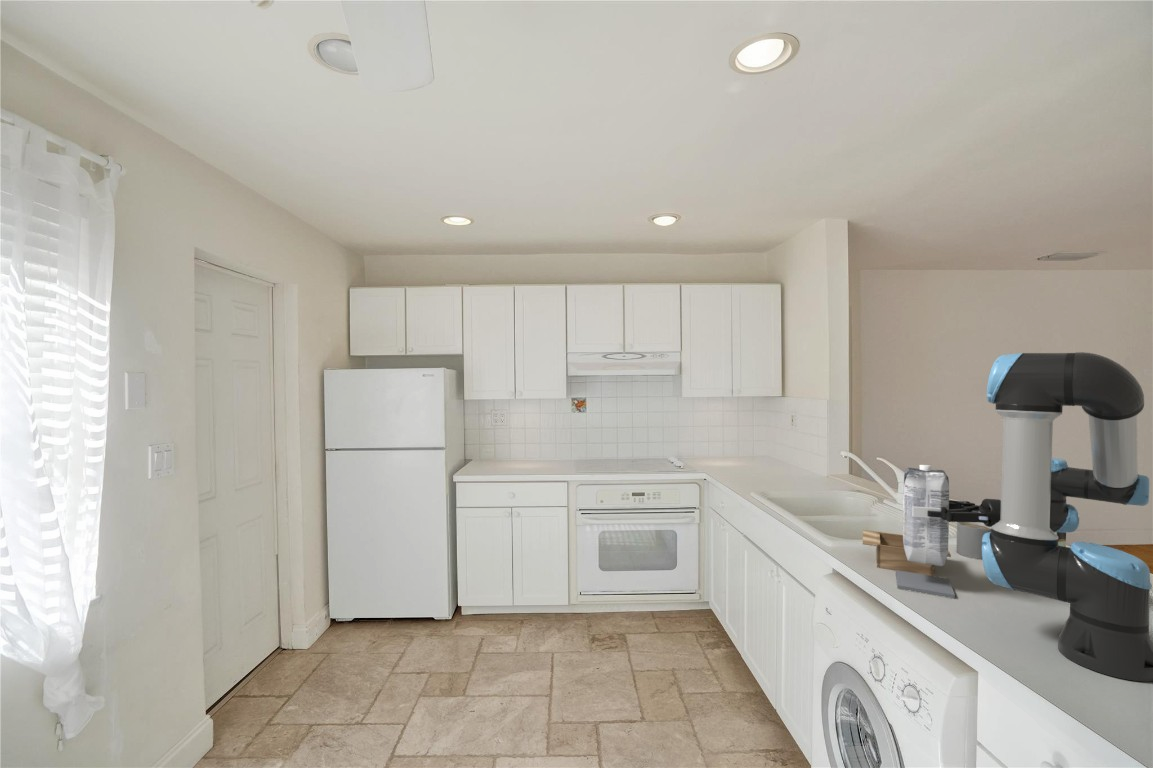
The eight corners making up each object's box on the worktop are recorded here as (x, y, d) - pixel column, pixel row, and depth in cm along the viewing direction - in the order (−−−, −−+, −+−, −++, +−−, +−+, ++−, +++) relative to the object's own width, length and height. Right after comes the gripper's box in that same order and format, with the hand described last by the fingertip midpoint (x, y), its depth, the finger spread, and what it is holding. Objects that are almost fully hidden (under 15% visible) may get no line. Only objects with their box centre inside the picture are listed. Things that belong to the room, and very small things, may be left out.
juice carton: (949, 569, 143) (950, 470, 142) (903, 562, 148) (905, 466, 147) (945, 558, 150) (946, 465, 150) (902, 552, 156) (903, 461, 155)
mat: (954, 598, 140) (954, 594, 140) (897, 588, 146) (897, 585, 146) (948, 581, 151) (948, 578, 151) (895, 573, 158) (895, 569, 158)
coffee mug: (959, 556, 172) (959, 526, 172) (954, 547, 181) (954, 519, 181) (1011, 563, 166) (1011, 532, 166) (1003, 554, 175) (1003, 524, 175)
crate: (950, 579, 153) (950, 555, 153) (862, 565, 164) (862, 542, 164) (943, 562, 167) (944, 540, 167) (862, 550, 178) (863, 529, 178)
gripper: (1021, 540, 132) (918, 531, 140) (985, 516, 153) (897, 509, 161) (1022, 510, 132) (919, 503, 139) (985, 490, 153) (898, 485, 161)
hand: (907, 506), depth 150 cm, fingers closed on juice carton, 10 cm apart
